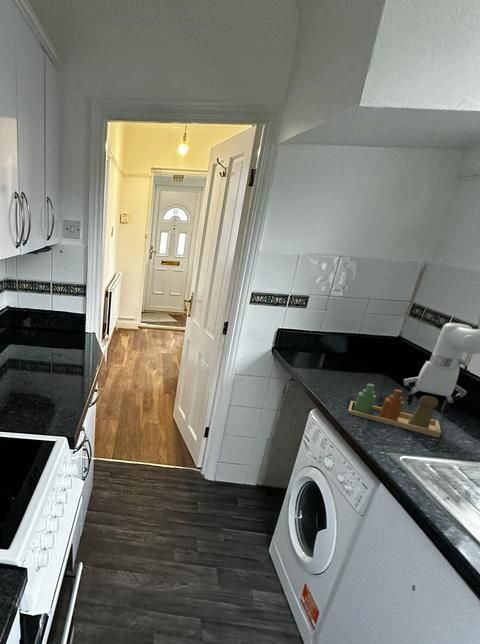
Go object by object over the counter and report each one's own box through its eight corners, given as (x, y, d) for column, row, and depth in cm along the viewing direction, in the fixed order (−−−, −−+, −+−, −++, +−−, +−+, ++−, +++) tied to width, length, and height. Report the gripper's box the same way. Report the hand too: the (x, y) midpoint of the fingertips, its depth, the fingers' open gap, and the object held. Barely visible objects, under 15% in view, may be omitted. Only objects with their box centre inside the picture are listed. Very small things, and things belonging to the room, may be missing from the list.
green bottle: (370, 411, 156) (380, 384, 152) (369, 416, 152) (379, 388, 147) (353, 407, 159) (362, 380, 155) (352, 412, 155) (361, 384, 150)
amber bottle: (397, 417, 152) (407, 390, 148) (397, 423, 148) (408, 394, 143) (379, 413, 155) (389, 386, 150) (378, 418, 150) (389, 390, 146)
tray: (436, 425, 149) (438, 420, 148) (438, 437, 140) (441, 432, 139) (349, 405, 162) (351, 400, 161) (346, 414, 153) (348, 410, 152)
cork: (425, 431, 143) (439, 402, 138) (405, 423, 147) (418, 396, 142) (430, 426, 146) (443, 398, 142) (410, 419, 151) (423, 392, 146)
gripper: (476, 364, 136) (455, 411, 143) (412, 353, 144) (395, 398, 151) (479, 369, 130) (458, 418, 137) (413, 358, 138) (396, 404, 145)
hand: (425, 407), depth 144 cm, fingers open, 9 cm apart
